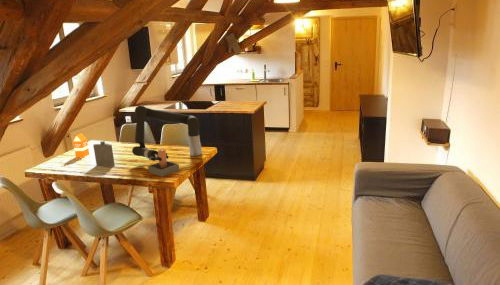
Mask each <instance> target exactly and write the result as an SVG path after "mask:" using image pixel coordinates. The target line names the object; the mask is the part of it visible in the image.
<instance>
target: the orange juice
mask: <svg viewBox="0 0 500 285" xmlns="http://www.w3.org/2000/svg"><path fill="white" fill-rule="evenodd" d="M72 145H73V148H74V154H75V158H76V157H84V158H86V157H88V156H89V155H90V151H89V144H88V139H87V138H86V136H85V135H84V134H83V133H82V132H80V133H78V134H76V135H75V137H74V139H73V144H72ZM87 155H88V156H87ZM85 156H86V157H85Z"/></svg>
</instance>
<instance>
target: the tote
mask: <svg viewBox="0 0 500 285" xmlns="http://www.w3.org/2000/svg"><path fill="white" fill-rule="evenodd" d="M147 170H148V173H149V174H152V175H154V176H155V175H156V176H158V177H160V178H162V177H165V176H168V175H170V174H174V173H177V172H179V171H180V165H179V163H176V162H172V161H169V160H167V168H164V169H162V170H161V169H160V166H159V162H155V163H153V164H150V165H148V166H147Z"/></svg>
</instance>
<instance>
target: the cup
mask: <svg viewBox="0 0 500 285" xmlns="http://www.w3.org/2000/svg"><path fill="white" fill-rule="evenodd" d="M166 151H167V150H166V149H165V148H160V149H157V152H158V157H160V158H161V159H162V161H159V160H158V163H159V166H160V169H161V170H162V169H164V168H167V161H168V160H167V158H166V153H167V152H166Z"/></svg>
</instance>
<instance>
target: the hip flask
mask: <svg viewBox="0 0 500 285" xmlns="http://www.w3.org/2000/svg"><path fill="white" fill-rule="evenodd" d="M92 147H93V151H94V157H95V163H96V167H111V168H113V167H115V156H114V153H113V145H112V144H110V143H106V141H104V140H102V141H100V142H99V143H95V144H93V146H92Z"/></svg>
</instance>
